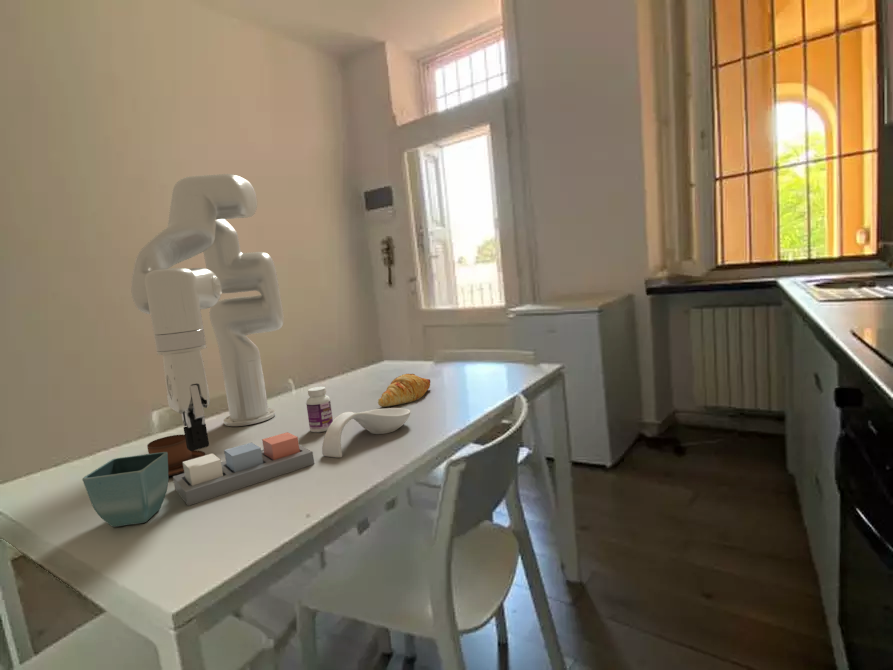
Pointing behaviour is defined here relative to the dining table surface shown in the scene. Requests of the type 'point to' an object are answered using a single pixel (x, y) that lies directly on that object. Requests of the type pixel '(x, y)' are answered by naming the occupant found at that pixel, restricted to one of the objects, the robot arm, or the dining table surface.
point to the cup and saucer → (174, 452)
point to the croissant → (404, 390)
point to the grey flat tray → (241, 476)
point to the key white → (202, 469)
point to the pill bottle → (319, 409)
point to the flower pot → (129, 488)
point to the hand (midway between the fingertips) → (198, 447)
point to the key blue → (243, 457)
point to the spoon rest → (370, 420)
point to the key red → (280, 445)
